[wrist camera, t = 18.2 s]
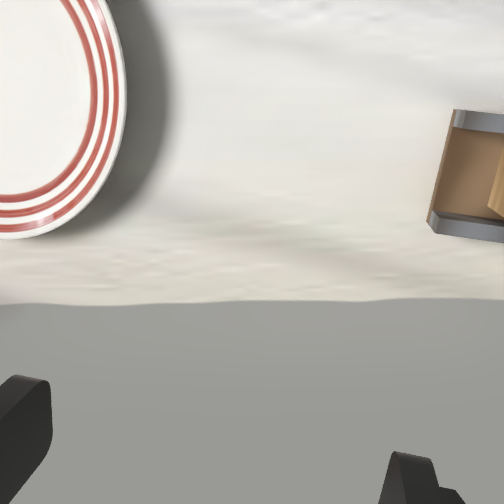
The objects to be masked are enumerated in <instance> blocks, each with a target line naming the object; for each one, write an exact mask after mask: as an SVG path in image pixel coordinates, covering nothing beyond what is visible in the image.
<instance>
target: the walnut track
mask: <svg viewBox="0 0 504 504" xmlns="http://www.w3.org/2000/svg"><path fill="white" fill-rule="evenodd" d="M503 148H504V115H501V114H492V113H483V112H474V111H465V110H455V109H454V110H453V114H452V118H451V122H450V126H449V130H448V134H447V138H446V143H445V147H444V151H443V155H442V159H441V163H440V167H439V171H438V175H437V179H436V183H435V188H434V192H433V196H432V200H431V204H430V208H429V212H428V216H427V220H426V222H427V223H428V224H429V226H430V227H431V228H432V230H433V231H434V232H435V233H437V234H444V235H451V236H458V237H465V238H471V239H478V240H485V241H492V242H499V243H504V217H502V216H501V215H499V214H498V213H496V212H495V211H494V210H492V209H491V208H489V207H488V206H487V205H488V202H489V198H490V195H491V191H492V187H493V184H494V180H495V176H496V173H497V169H498V165H499V162H500V158H501V155H502V151H503Z"/></svg>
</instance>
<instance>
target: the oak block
mask: <svg viewBox="0 0 504 504" xmlns="http://www.w3.org/2000/svg"><path fill="white" fill-rule="evenodd" d="M487 206H488V207H489V208H491V209H492V210H494V211H495V212H496V213H498V214H499V215H501V216H502V217H504V148H503V151H502V155H501V158H500V162H499V165H498V169H497V173H496V176H495V180H494V184H493V187H492V191H491V195H490V198H489V202H488V205H487Z"/></svg>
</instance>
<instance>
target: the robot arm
mask: <svg viewBox="0 0 504 504" xmlns="http://www.w3.org/2000/svg"><path fill="white" fill-rule="evenodd" d="M52 434H53V428H52V408H51V389H50V385H49V383H48V382H47V381H45V380H41V379H36V378H31V377H26V376H21V375H13V376H12V377H10V378H9V379H7V380H6V382H4V383H3V384H2V385H1V386H0V504H9V503H10V501H11V500H12V499H13V498H14V496H15V495H16V494H17V492H18V491H19V490H20V489H21V487H22V486H23V485H24V484H25V482H26V481H27V480H28V479H29V477H30V476H31V475H32V474H33V472H34V471H35V470H36V468H37V467H38V466H39V465H40V463H41V462H42V461H43V459H44V458H45V456H46V454H47V452H48V450H49V447H50V444H51V441H52ZM378 504H465V502H464V501H463V500H462V498H461V497H460V496H459V494H458V493H457V492H456V490H453V489H448V488H443V487H439V485H438V481H437V478H436V474H435V470H434V467H433V463H432V462H431V460H430V459H429V458H426V457H421V456H416V455H411V454H406V453H400V452H396V451H394V452H393V453H392V455H391V458H390V462H389V465H388V469H387V473H386V477H385V480H384V484H383V488H382V492H381V495H380V499H379V503H378Z"/></svg>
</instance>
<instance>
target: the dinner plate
mask: <svg viewBox="0 0 504 504" xmlns="http://www.w3.org/2000/svg"><path fill="white" fill-rule="evenodd" d="M126 111H127V81H126V70H125V62H124V56H123V51H122V46H121V42H120V39H119V35H118V31H117V28H116V25H115V22H114V19H113V16H112V14H111V11H110V9H109V6H108V4H107V2H106V0H0V239H2V240H9V239H23V238H29V237H33V236H37V235H41V234H44V233H47V232H49V231H52V230H54V229H56V228H58V227H60V226H62V225H63V224H65V223H67V222H68V221H70V220H71V219H72V218H74V217H75V216H76V215H78V214H79V213H80V212H81V211H82V210H84V209H85V208H86V207H87V206H88V204H89V203H90V202H91V201H92V200H93V199H94V197H95V196H96V195H97V193H98V192H99V191H100V189H101V188H102V186H103V185H104V183H105V181H106V180H107V178H108V176H109V174H110V172H111V170H112V167H113V165H114V162H115V160H116V157H117V154H118V151H119V148H120V145H121V141H122V136H123V132H124V128H125V120H126Z"/></svg>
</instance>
